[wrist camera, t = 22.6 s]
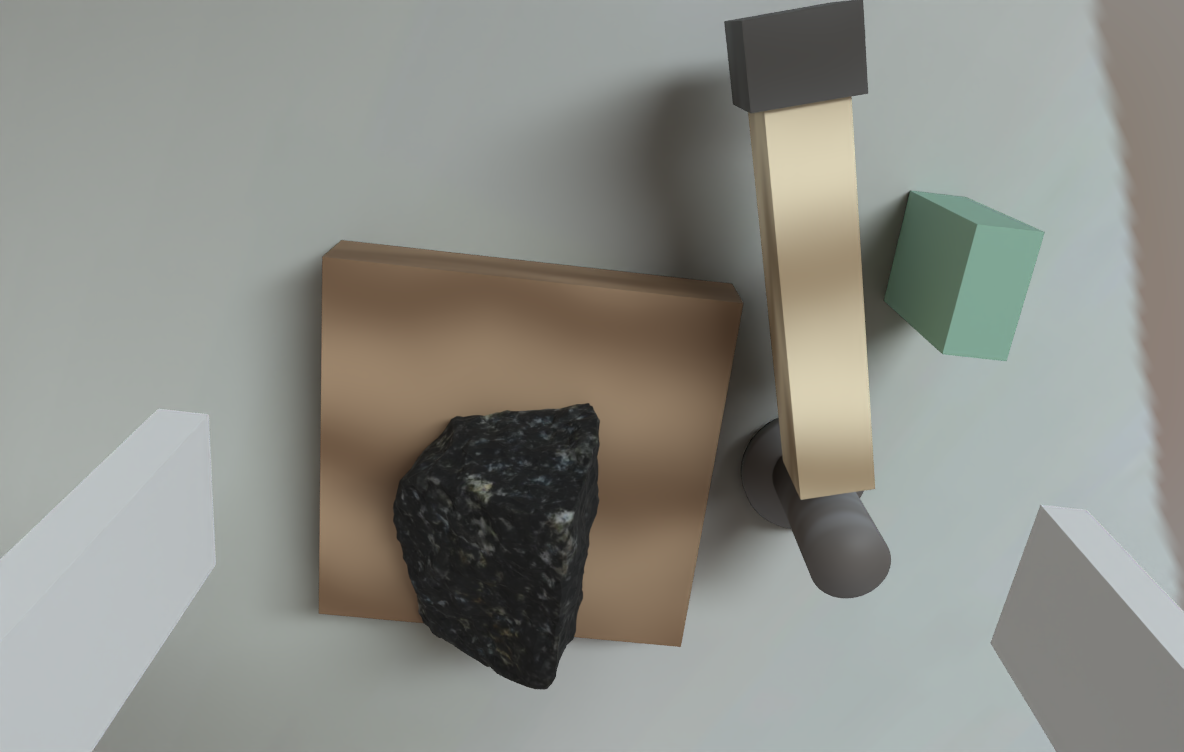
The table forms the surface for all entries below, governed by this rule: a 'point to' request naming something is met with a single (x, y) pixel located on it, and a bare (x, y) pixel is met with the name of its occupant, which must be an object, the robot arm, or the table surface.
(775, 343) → the leg
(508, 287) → the seat
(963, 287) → the pale green block
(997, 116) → the table surface
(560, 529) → the rock
